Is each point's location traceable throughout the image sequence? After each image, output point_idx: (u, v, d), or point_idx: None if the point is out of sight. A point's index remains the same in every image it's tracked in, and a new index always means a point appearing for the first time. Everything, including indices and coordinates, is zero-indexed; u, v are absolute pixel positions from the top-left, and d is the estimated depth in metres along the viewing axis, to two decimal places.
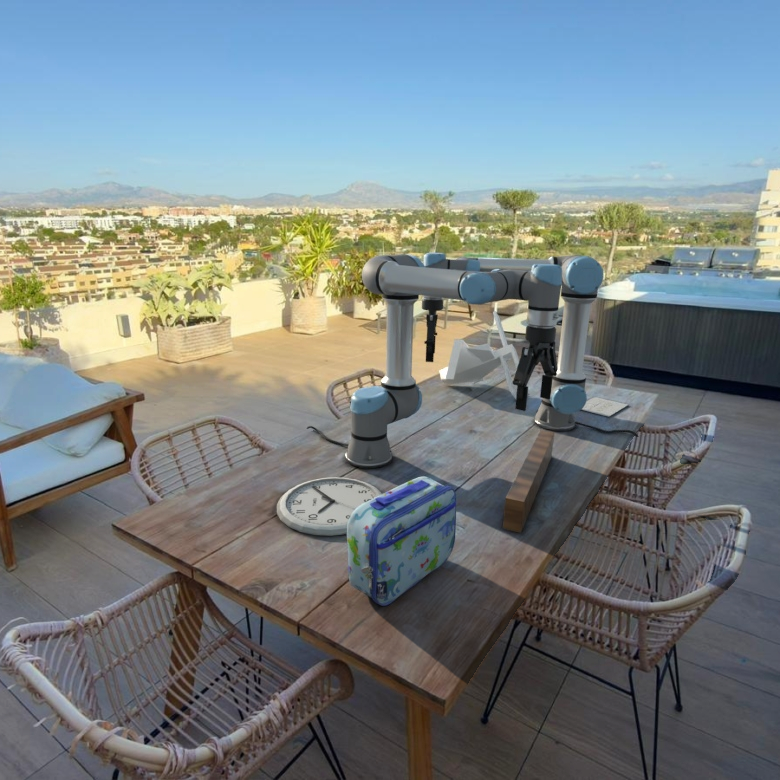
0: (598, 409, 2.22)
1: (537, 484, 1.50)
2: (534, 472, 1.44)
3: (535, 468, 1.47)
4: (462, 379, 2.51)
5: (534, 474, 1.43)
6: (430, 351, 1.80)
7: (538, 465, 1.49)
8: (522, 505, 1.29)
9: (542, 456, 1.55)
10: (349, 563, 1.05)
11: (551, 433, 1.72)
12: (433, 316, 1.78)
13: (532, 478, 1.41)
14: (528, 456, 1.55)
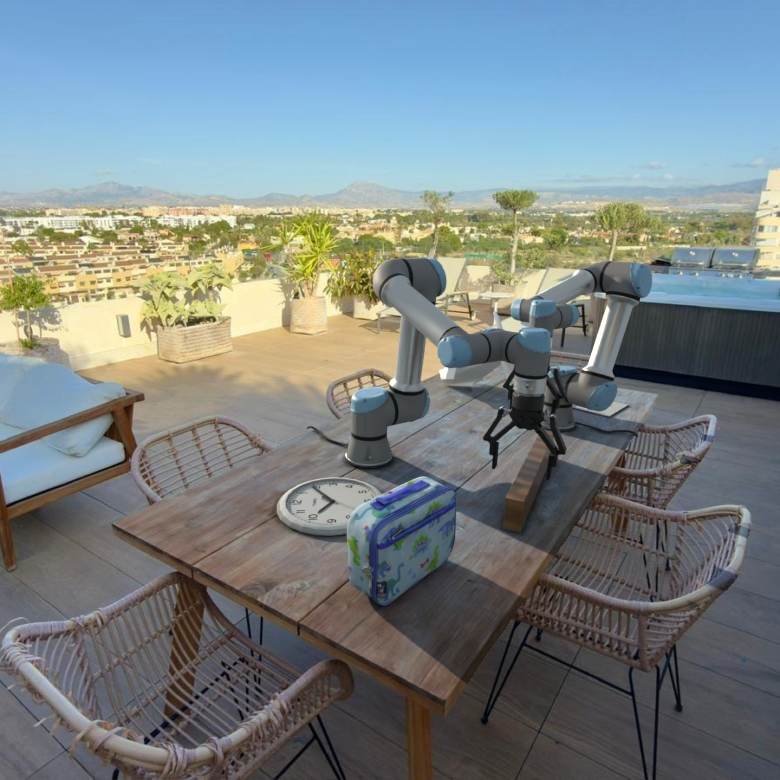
0: None
1: (537, 484, 1.50)
2: (534, 472, 1.44)
3: (535, 468, 1.47)
4: (462, 379, 2.51)
5: (534, 474, 1.43)
6: (559, 406, 1.65)
7: (538, 465, 1.49)
8: (522, 505, 1.29)
9: (542, 456, 1.55)
10: (349, 563, 1.05)
11: (551, 433, 1.72)
12: (558, 368, 1.63)
13: (532, 478, 1.41)
14: (528, 456, 1.55)
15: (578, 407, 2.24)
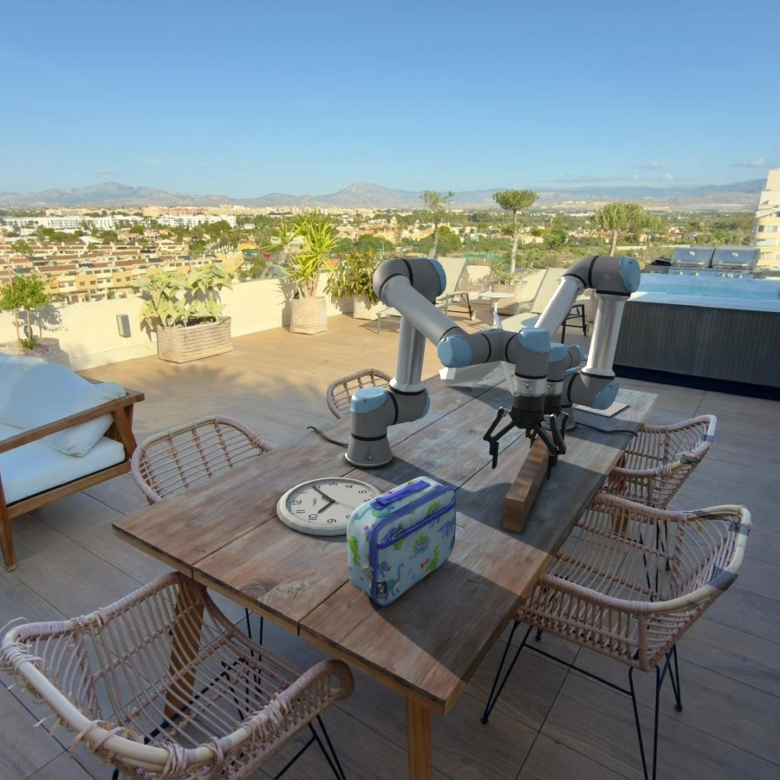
0: (598, 409, 2.22)
1: (537, 484, 1.50)
2: (534, 472, 1.44)
3: (535, 468, 1.47)
4: (462, 379, 2.51)
5: (534, 474, 1.43)
6: None
7: (538, 465, 1.49)
8: (522, 505, 1.29)
9: (542, 456, 1.55)
10: (349, 563, 1.05)
11: (551, 433, 1.72)
12: (569, 415, 1.65)
13: (532, 478, 1.41)
14: (528, 456, 1.55)
15: (578, 407, 2.24)
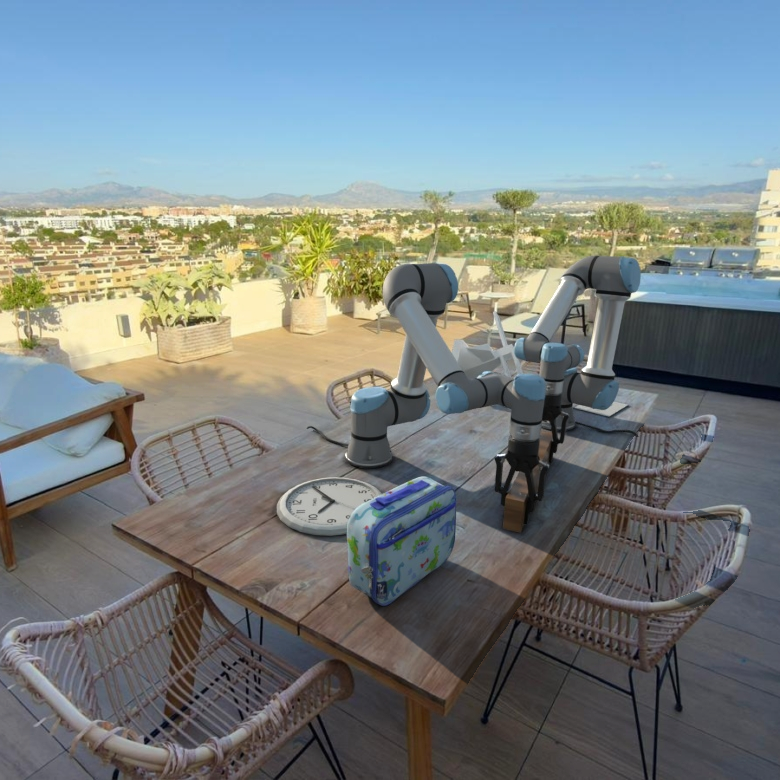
0: (598, 409, 2.22)
1: (537, 484, 1.50)
2: (534, 472, 1.44)
3: (535, 468, 1.47)
4: None
5: (534, 474, 1.43)
6: (556, 450, 1.69)
7: None
8: (522, 505, 1.29)
9: (542, 456, 1.55)
10: (349, 563, 1.05)
11: (551, 433, 1.72)
12: (569, 415, 1.65)
13: None
14: None
15: (578, 407, 2.24)
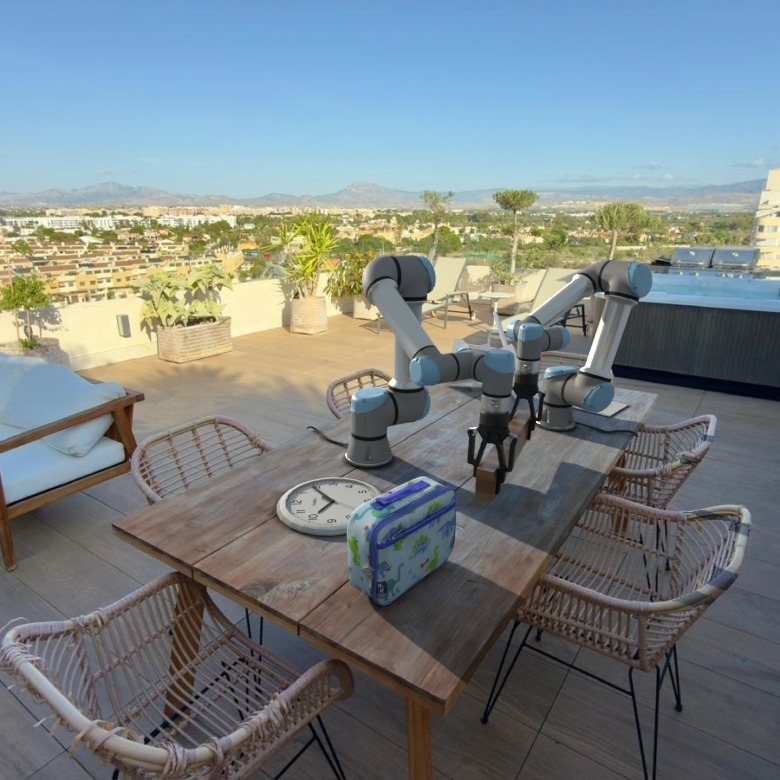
0: None
1: None
2: (508, 446, 1.49)
3: (509, 443, 1.52)
4: None
5: (507, 448, 1.48)
6: (534, 428, 1.74)
7: None
8: (492, 475, 1.34)
9: (518, 432, 1.60)
10: (349, 563, 1.05)
11: None
12: (546, 393, 1.70)
13: (505, 452, 1.46)
14: None
15: (578, 407, 2.24)
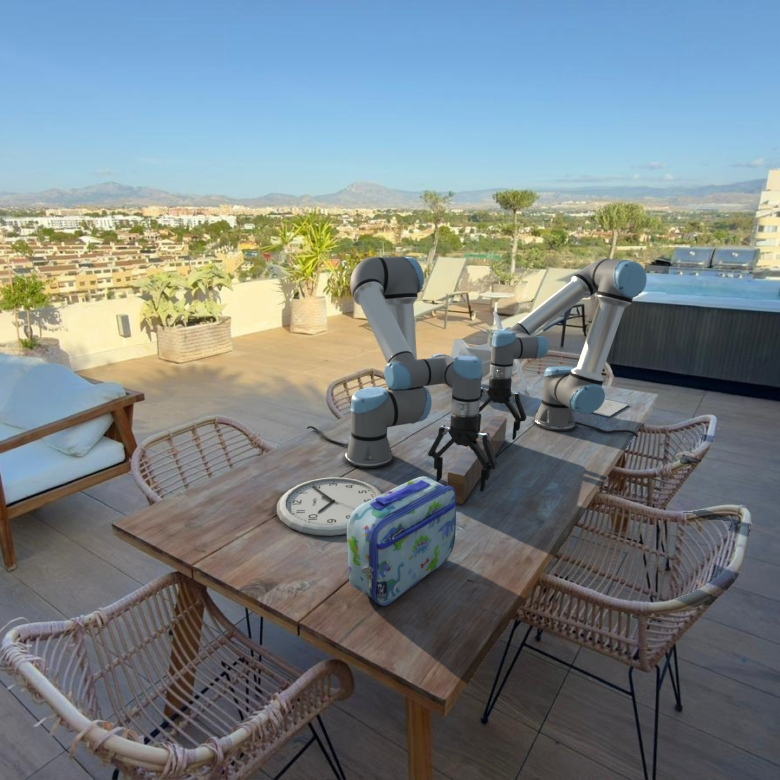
0: (598, 409, 2.22)
1: None
2: None
3: (481, 447, 1.60)
4: None
5: None
6: (519, 428, 1.80)
7: None
8: (462, 479, 1.42)
9: (490, 438, 1.68)
10: (349, 563, 1.05)
11: (504, 418, 1.85)
12: (519, 394, 1.77)
13: (476, 456, 1.54)
14: (477, 438, 1.67)
15: None
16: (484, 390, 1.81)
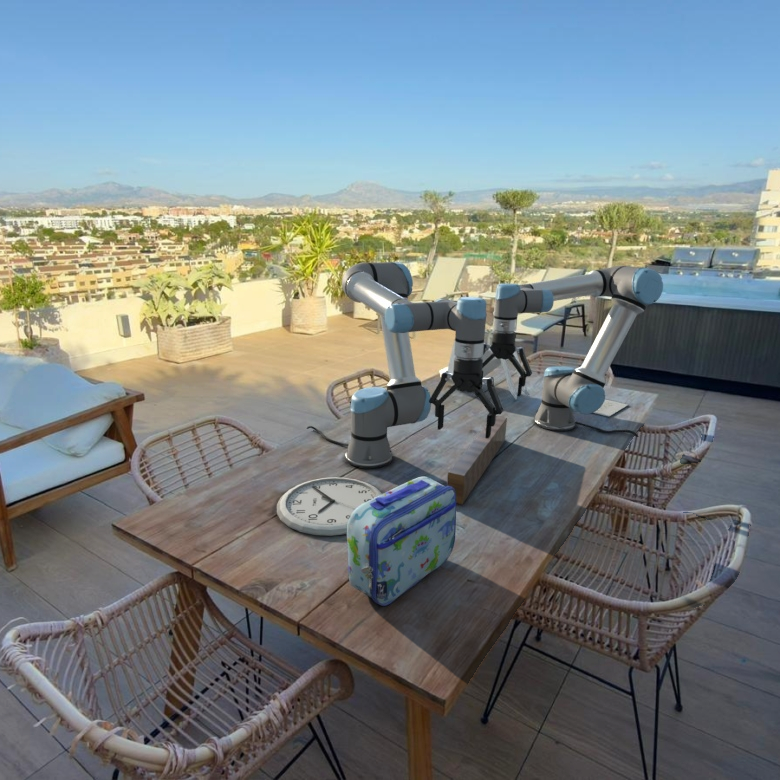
0: (598, 409, 2.22)
1: (484, 463, 1.63)
2: (479, 451, 1.57)
3: (481, 447, 1.60)
4: None
5: (479, 453, 1.56)
6: None
7: (484, 445, 1.62)
8: (462, 479, 1.42)
9: (490, 438, 1.68)
10: (349, 563, 1.05)
11: (504, 418, 1.85)
12: (523, 348, 1.73)
13: (476, 456, 1.54)
14: (477, 438, 1.67)
15: None
16: (487, 346, 1.76)
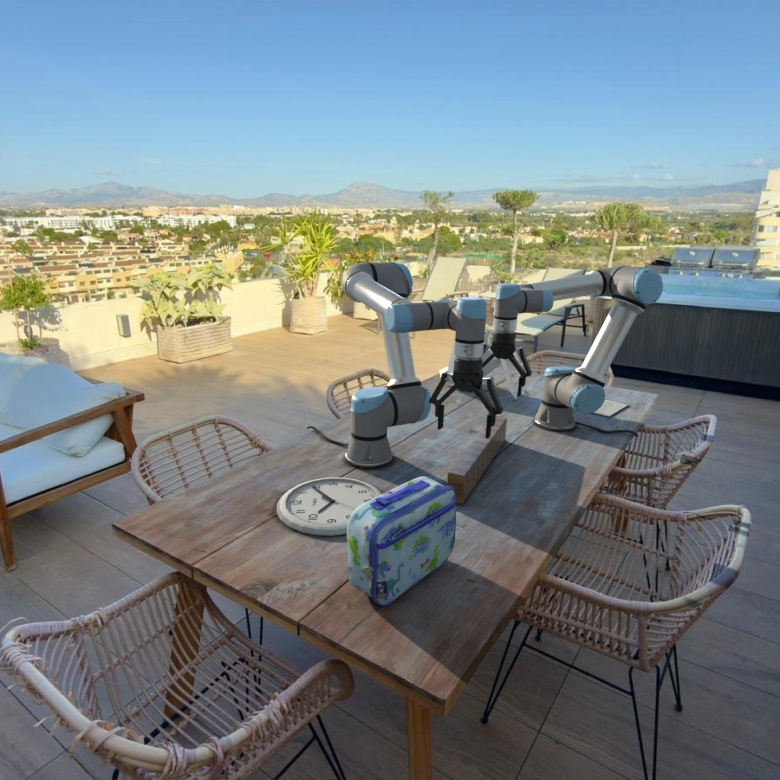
0: (598, 409, 2.22)
1: (484, 463, 1.63)
2: (479, 451, 1.57)
3: (481, 447, 1.60)
4: None
5: (479, 453, 1.56)
6: None
7: (484, 445, 1.62)
8: (462, 479, 1.42)
9: (490, 438, 1.68)
10: (349, 563, 1.05)
11: (504, 418, 1.85)
12: (523, 348, 1.73)
13: (476, 456, 1.54)
14: (477, 438, 1.67)
15: None
16: (487, 346, 1.76)
